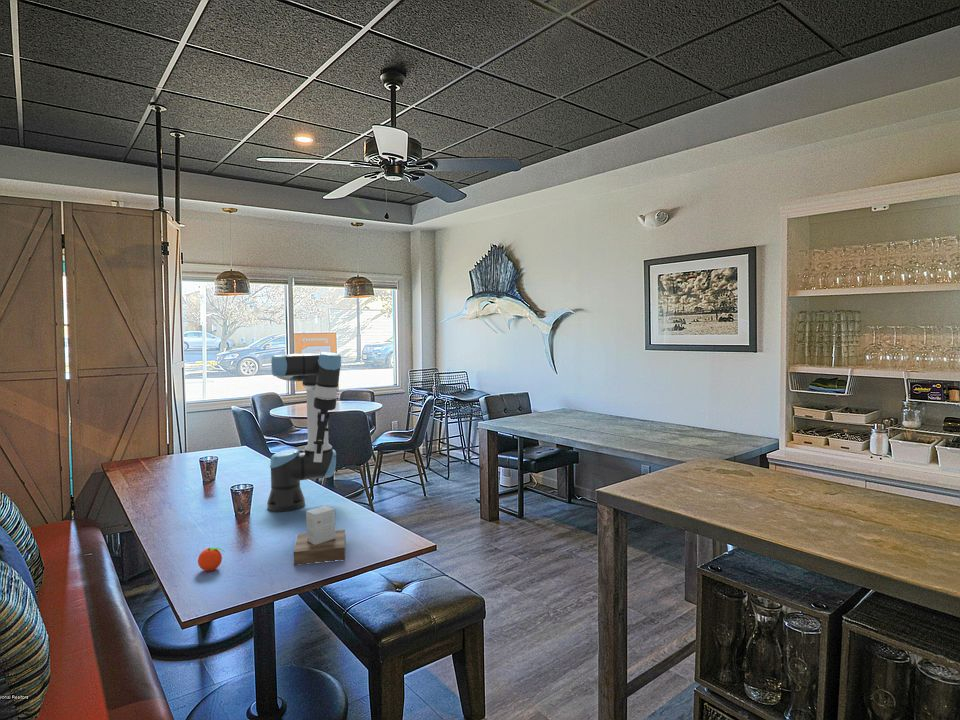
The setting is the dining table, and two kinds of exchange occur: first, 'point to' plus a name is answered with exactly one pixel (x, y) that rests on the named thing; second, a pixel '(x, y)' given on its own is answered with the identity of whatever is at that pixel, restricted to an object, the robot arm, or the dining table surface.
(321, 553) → the walnut block
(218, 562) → the clementine
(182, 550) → the dining table surface
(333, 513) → the small box
